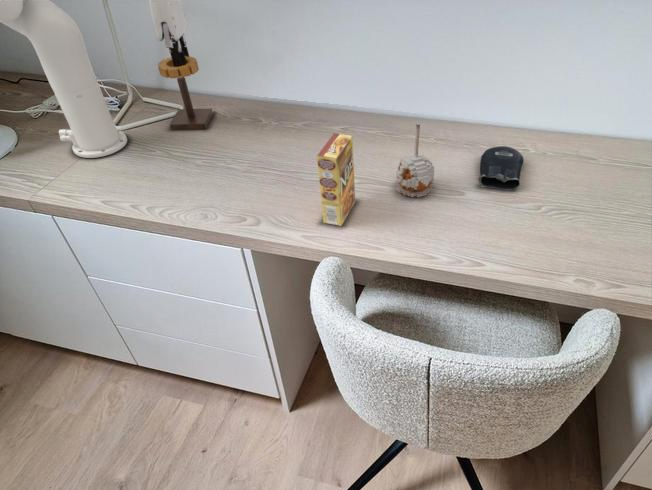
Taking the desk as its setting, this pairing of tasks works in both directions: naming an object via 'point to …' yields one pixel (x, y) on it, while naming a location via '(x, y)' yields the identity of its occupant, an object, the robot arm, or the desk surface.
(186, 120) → the stand
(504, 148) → the electronic device
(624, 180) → the desk surface
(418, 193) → the caramel apple
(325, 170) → the candy box
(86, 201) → the desk surface
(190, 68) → the ring
